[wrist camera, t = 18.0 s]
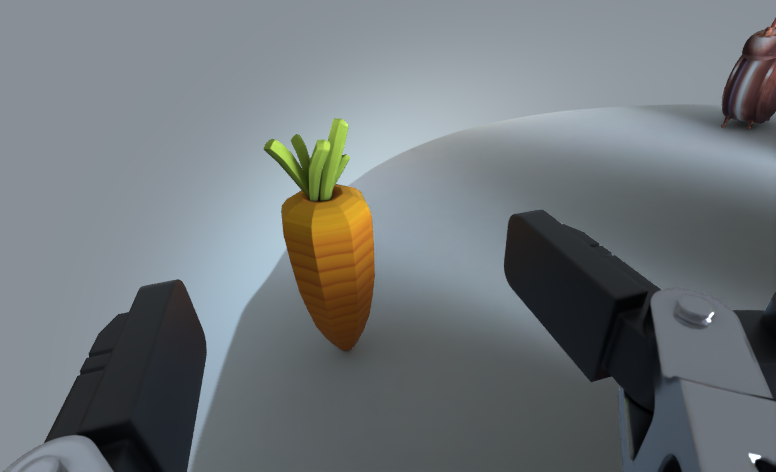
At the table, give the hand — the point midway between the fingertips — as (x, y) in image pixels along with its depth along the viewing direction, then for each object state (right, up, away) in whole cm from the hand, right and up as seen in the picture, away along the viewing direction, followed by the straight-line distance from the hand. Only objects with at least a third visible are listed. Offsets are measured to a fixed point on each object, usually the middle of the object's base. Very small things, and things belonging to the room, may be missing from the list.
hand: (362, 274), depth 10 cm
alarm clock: (+53, +17, +49) cm, 74 cm away
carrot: (-2, -7, +17) cm, 18 cm away
